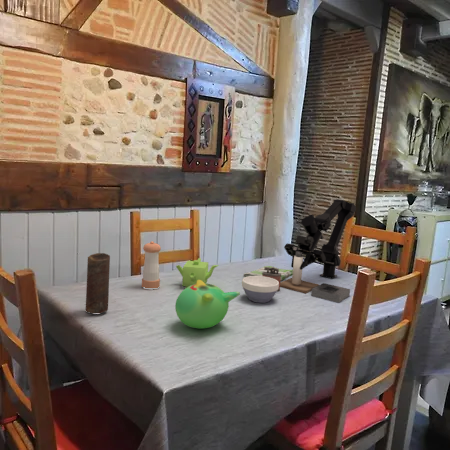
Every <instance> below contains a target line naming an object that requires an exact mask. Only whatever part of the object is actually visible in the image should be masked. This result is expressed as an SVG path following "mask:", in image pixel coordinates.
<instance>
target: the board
mask: <svg viewBox="0 0 450 450" xmlns="http://www.w3.org/2000/svg"><path fill="white" fill-rule="evenodd" d="M318 285H320V283H315V282H310V281H306V280H302V279H301V284H299V285H297V284H293V283H292V277H289V278H286V279H284V280H282V281H280V288H281V289H285V290H286V289H287V290H290V291H293V292H297V293H302V294H308V293H309V292H312V288H314V287H316V286H318Z"/></svg>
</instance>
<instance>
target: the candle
mask: <svg viewBox="0 0 450 450" xmlns="http://www.w3.org/2000/svg"><path fill="white" fill-rule="evenodd" d="M110 261H111V256H110V255H109V254H107V253H104V252H103V253H101V252H95V253H93V254H90V255H89V256H87V268H86V292H85V294H86V296H85V310H86V311H87V312H90V313H89V314H92V313H101V314H102V313H105V312H107V311H108V310H109V297H110V296H109V292H110V291H109V289H110V265H111V263H110ZM86 311H85V312H86ZM87 312H86V313H87Z"/></svg>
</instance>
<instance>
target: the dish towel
mask: <svg viewBox="0 0 450 450" xmlns="http://www.w3.org/2000/svg"><path fill="white" fill-rule="evenodd" d="M264 267H270V268H272V267H274V268H276V267H275V266H271V265H266V266H265V265H264V266H263V267H260V268H258V269H255V270H252V271H250V272H244V273H243V276H242V277H243V278H245V277H248V276H262V272H267V270H264ZM278 269H279V272H278V273H281V279H280V282H283V281H285V280H287V279H289V278H291V277H292V275H293V269H285V268H278ZM269 272H270V271H269ZM275 272H276V271H275Z"/></svg>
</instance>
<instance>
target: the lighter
mask: <svg viewBox="0 0 450 450" xmlns="http://www.w3.org/2000/svg"><path fill="white" fill-rule="evenodd" d="M263 267H264V266H263ZM274 267H275V266H272V268H270V267H264V270H267V272H262V276H264V277H269V278H273V279H275V280H277V281H278V282H279V288H278V290H277V292H276V293H279V292H281V287H280V282H281V281H280V279H281V273H278V272H279V269H280V268H277V267H275V268H274ZM269 271H270V272H269ZM275 271H276V272H275Z"/></svg>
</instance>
